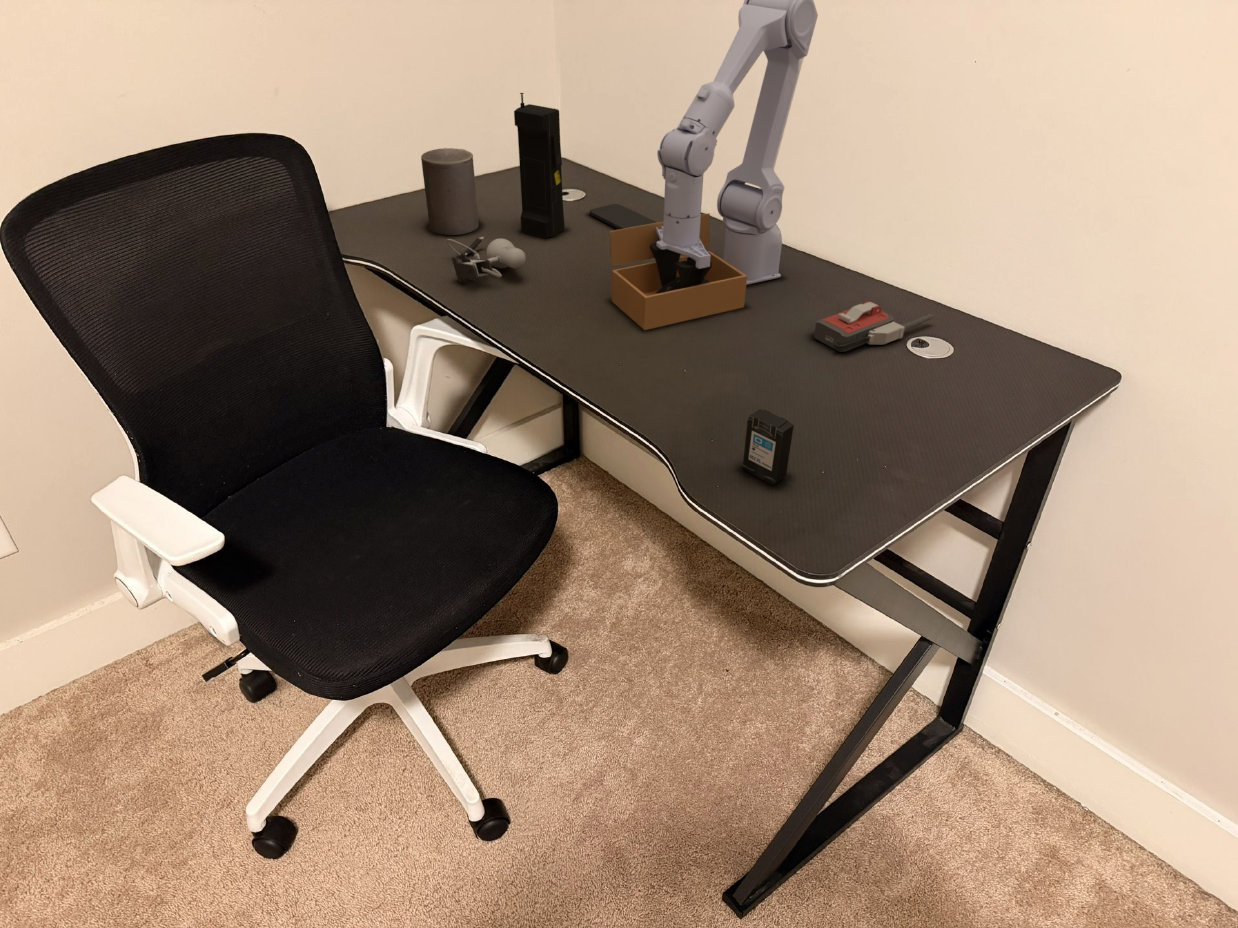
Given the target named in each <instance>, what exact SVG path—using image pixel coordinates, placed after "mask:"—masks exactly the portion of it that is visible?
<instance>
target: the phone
mask: <svg viewBox="0 0 1238 928" xmlns="http://www.w3.org/2000/svg"><path fill="white" fill-rule="evenodd" d="M589 215H590V216H591V217H594V218H596V219H598V220H599V221H601V222H604V223H606V224H607V225H610V226H611V227H614V228H615V229H616V230H619V229H625V228H630V227H636V226H642V225H647V224H653V223H658V222H657V221H655V220H653V219H651V218H649V217H648V216H644V215H642V214H641V213H638V212H636V211H635V210H632V209H630V208H628V207H626V206H624V205H622V204H620V203H612V204H607V205H603V206H598V207H595V208H591V209H589Z"/></svg>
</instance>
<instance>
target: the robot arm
mask: <svg viewBox="0 0 1238 928" xmlns="http://www.w3.org/2000/svg"><path fill="white" fill-rule="evenodd" d="M742 3H743V4H742V6H740V8H739V10H738V17H737V18H738V30H737V31H736V34H735V36H734V38H733V40H732V41H731V44H730V46H729V49H728V50H727V52H726V55H725V57H724V59H723V60H722V63H721V65H720V67H719V68H718V70H717V72H716V75H715V77H714V79H713V81H710V82H707V83H704V84H702V85H701V86H700V88H699V89H698V91H697V93H696V95H695V96H694V98H693V100H692V102H691V103H690V105H689V107H688V108H687V110H686V112H685V113H684V114H683V116H682V118H681V120H680V121H679V124H678V125H677V127H676V128H673V129H672V130H670V131H668V132H667V133H666V134H665V135H664V136H663V137H662V139H661V141H660V143H659V148H658V149H657V152H656V153H657V159H658V162H659V164H660V166H661V170H662V173H661V176H662V179H664V197H663V198H664V201H663V221H662V222H663V226H661V228H660V229H658V228H657V227H656V233H657V234H658V241H657V243H652V244H650V249H651V251H652V253H653V255H654V258H653V259H654V260H655V261H656V263H657V267H658V271H659V276H660V281H661V285H662V287H663V286H664V285H666V284H667V283H668V282H670V281H671V280H673V279H674V278H676V276H677V270H678V273H679V277H680V283H681V289H682V288H687V287H692V286H696V285H701V283H702V281H703V279H704V277H705V276H706V274H707V273H708V271H709V270H710V269H711V267H712V262H711V261H710V256H711V255H710V254H709V253H707V251H708V250H706V248H704V246H703V244H702V242H701V240H700V238H699V235H700V220H701V215H702V203H703V191H704V190H703V187H704V174H705V173H706V171H708V169H709V168H710V167H711V165H712V163H713V161H714V157H715V150H716V147H717V143H718V139H717V138H718V137H719V135H720V133H721V131H722V129H723V128H724V126H725V124H726V122H727V120H728V119H729V118H730V115H731V114H732V112H733V110H734V109H735V98H734V93H735V92H736V90H738V87H739V86H740V85H741V84H742V82H743V81H744V80H745V78H746V76H747V75H748V73H749V72H750V71H751V69H752V68H753V66H754V65H755V63H756V62H757V61H758V59H759V57H760V56H761V54H762V53H764V55H765V58H766V60H767V63H766V68H765V71H764V75H763V79H762V83H761V87H760V91H759V95H758V98H757V103H756V107H755V111H754V114H753V119H752V123H751V127H750V131H749V135H748V138H747V143H746V147H745V151H744V155H743V158H742V161H741V162H742V163H740V164H739V165H738V166H736V167H734V168H733V169H731V170H729V171H728V172H727V174H726V178H725V181H724V184H723V185H722V187H721V189H720V190H719V192H718V195H717V200H716V208H717V209H716V210H717V212H718V214H719V215H720V217H722V224H724V225H725V229H724V231H725V232H724V241H723V256H722V259H723V260H724V261H726V262H727V263H729V264H730V265H732V266H733V267H735V268H736V269H738V270H739V271H741V272H742V273H744V274H745V275H747V284H746V286H747V285H753V284H757V283H761V282H766V281H769V280H770V281H771V280H775V279H780V278H781V276H782V275H781V273H779V269H780V261H781V255H782V246H783V236H782V231H781V229H780V227H779V225H777V223H778V222H779V220H780V218H781V215H782V212H783V195H784V190H785V185H784V183H783V182H782V180H781V179H780V178H779V176H778V174H777V173H776V171H775V167H776V164H777V160H778V156H779V152H780V148H781V144H782V141H783V138H784V134H785V129H786V126H787V122H788V119H789V115H790V111H791V108H792V103H793V101H794V100H793V99H794V96H795V93H796V88H797V85H798V81H799V77H800V73H801V70H802V67H803V66H802V65H803V62H804V59H805V57H807V56H808V53H809V50H810V46H811V43H812V40H813V35H814V31H815V28H816V24H817V20H818V16H819V14H818V11H817V8H816V5H815V1H814V0H744V1H743V2H742ZM680 256H686V257H687V261H682V262H679V259H680Z"/></svg>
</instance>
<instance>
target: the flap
mask: <svg viewBox="0 0 1238 928" xmlns="http://www.w3.org/2000/svg"><path fill="white" fill-rule="evenodd" d="M663 222H664V221H658V222H657V223H653V224H647V225H642V226H636V227H630V228H625V229H615V230H610V231H609V243H610V244H609V245H610V263H611V267H616V266H622V265H627V264H632V263H637V262H642V261H647V260H652V259H655V258H654V255H653V253H652V251H651V249H650V244H652V243H657V241H658V234H657V233H656V227H657V228H658V229H660V228H661V226H663ZM699 238H700V240H701V242H702V244H703V246H704V248H705V249H708V248H710V247H711V213H704V214H701V220H700V235H699Z"/></svg>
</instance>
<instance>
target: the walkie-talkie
mask: <svg viewBox="0 0 1238 928" xmlns="http://www.w3.org/2000/svg"><path fill="white" fill-rule="evenodd" d="M933 319H934V316H933V315H932V314H931V313H928V314H926V315H924V316H921V317H919V318H916V319H914V320H911V321H909V322H905V323H900V324H899V323H897V322H896V321H894V320H895V317H894V316H893V315H892V314H890V313H889V312H886V311H884V310H883V308H882V306H881V305H878V304H876V303H874V302H872V301H870V300H868V301H865V302H863V303H860V304H859V303H858V304H856V305H854V306H852V307H851V308H848V309H845V310H842V311H840V312H838V313H835V314H834V313H833V314H832V315H829V316H826V317H823V318H820V319H818V320H816V321H815V328H814V333H813V338H814V339H815V340H817V341H819V342H820V343H822V344H824V345H826V346H828V347H829V348H832V349H833V350H835V351H837V352H842V353H845V352H848V351H851V350H853V349H856V348H858V347H860V346H863V345H866V344H868V345H886V344H888V343H891V342H893V341H896V340H901V339H902V338H903V337H904V334H905V332H907V331H908V330H911V329H914V328H917V327H918V326H921V325H923V324H924V323H927V322H928V321H930V320H933Z"/></svg>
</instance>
